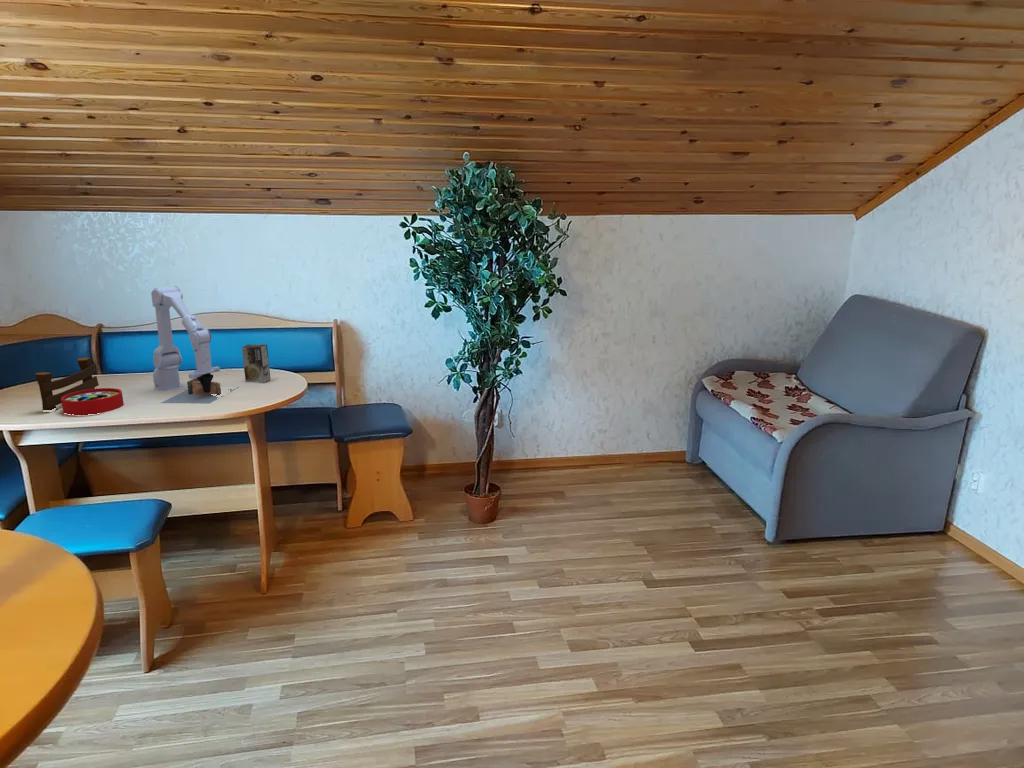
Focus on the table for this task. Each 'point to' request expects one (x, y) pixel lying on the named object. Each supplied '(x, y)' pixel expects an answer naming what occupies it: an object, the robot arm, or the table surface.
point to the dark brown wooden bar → (190, 390)
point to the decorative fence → (66, 383)
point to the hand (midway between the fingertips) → (207, 392)
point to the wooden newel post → (198, 388)
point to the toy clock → (92, 401)
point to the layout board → (192, 398)
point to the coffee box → (256, 363)
